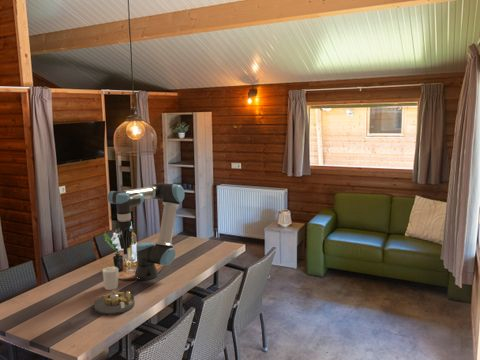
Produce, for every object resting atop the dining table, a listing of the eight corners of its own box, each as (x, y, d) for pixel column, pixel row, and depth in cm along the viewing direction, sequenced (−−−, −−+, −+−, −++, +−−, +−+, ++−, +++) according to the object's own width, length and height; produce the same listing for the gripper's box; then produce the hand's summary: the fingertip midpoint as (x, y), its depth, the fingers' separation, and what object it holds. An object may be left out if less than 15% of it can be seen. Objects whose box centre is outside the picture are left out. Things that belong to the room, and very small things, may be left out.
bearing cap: (112, 295, 250) (111, 284, 249) (142, 301, 242) (141, 290, 241) (86, 311, 230) (85, 299, 229) (117, 318, 222) (117, 306, 221)
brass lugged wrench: (100, 303, 233) (99, 291, 231) (113, 295, 243) (112, 283, 241) (124, 308, 226) (123, 296, 225) (136, 300, 236) (135, 288, 235)
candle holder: (102, 291, 255) (101, 273, 253) (103, 285, 265) (102, 267, 263) (119, 289, 258) (118, 271, 256) (119, 283, 267) (118, 265, 265)
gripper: (124, 216, 242) (127, 254, 246) (112, 222, 229) (115, 262, 234) (135, 217, 240) (138, 255, 244) (124, 223, 227) (126, 263, 232)
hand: (126, 258), depth 239 cm, fingers closed
